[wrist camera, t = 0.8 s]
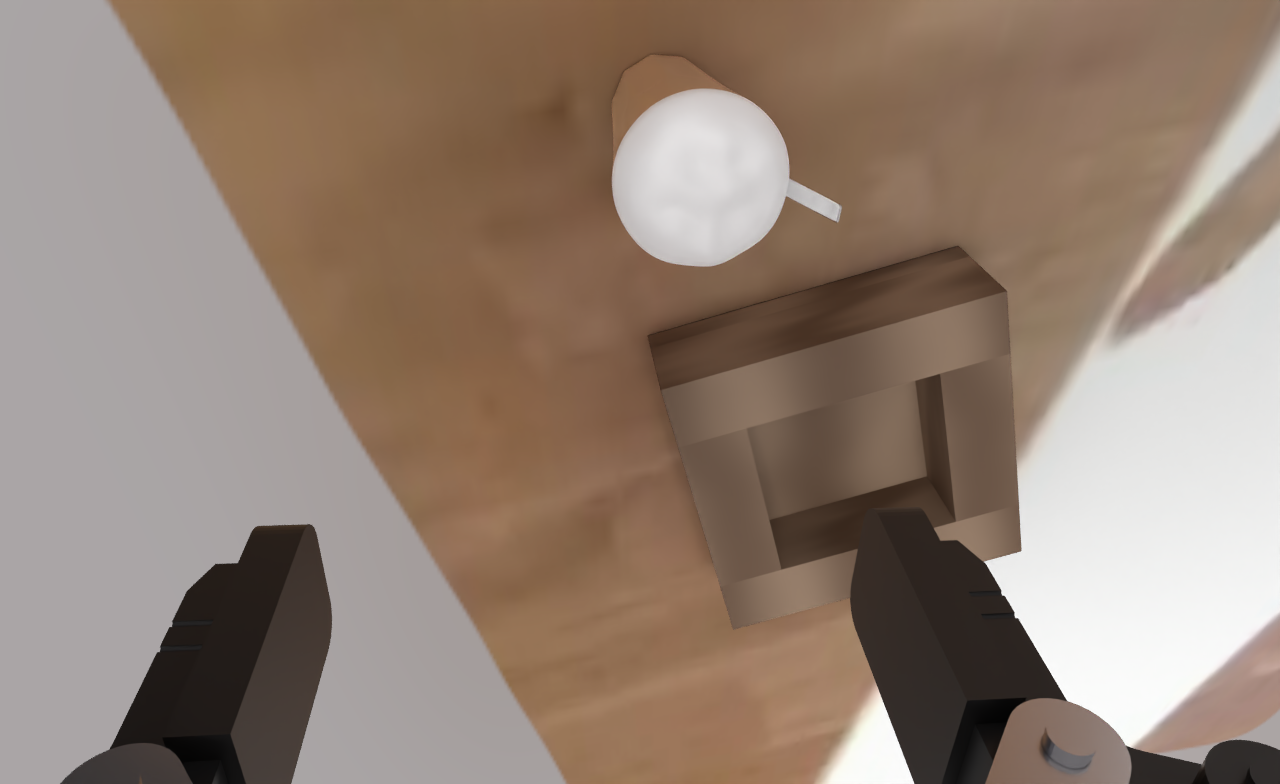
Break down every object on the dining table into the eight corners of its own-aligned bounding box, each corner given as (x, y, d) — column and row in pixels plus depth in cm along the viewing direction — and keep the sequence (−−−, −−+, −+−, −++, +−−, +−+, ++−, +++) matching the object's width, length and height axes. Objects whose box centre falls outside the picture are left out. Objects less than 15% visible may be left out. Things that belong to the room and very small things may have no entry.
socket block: (958, 246, 34) (1006, 291, 30) (979, 490, 40) (1021, 551, 37) (647, 336, 34) (660, 390, 31) (716, 563, 41) (733, 629, 37)
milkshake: (741, 177, 32) (821, 301, 23) (587, 168, 31) (611, 291, 22) (763, 39, 29) (861, 120, 21) (597, 25, 29) (628, 102, 20)
